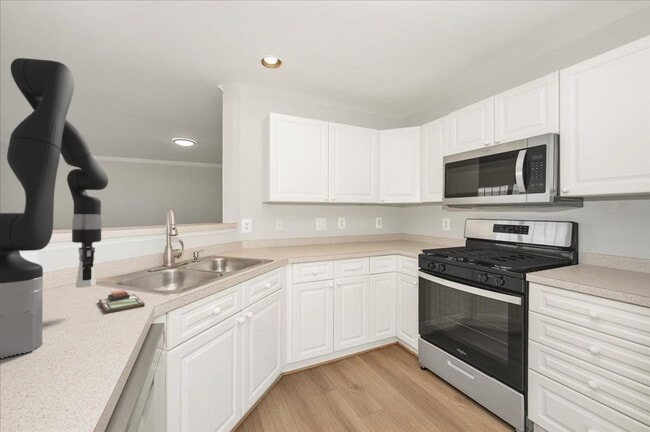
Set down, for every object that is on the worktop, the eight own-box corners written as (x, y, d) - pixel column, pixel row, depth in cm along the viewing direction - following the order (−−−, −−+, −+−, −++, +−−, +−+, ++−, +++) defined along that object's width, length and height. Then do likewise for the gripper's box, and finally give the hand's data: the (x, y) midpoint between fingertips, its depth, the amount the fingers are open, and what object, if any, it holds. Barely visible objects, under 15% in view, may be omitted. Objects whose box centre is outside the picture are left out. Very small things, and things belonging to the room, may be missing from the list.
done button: (126, 295, 106) (126, 291, 106) (113, 298, 103) (113, 293, 103) (124, 293, 109) (124, 289, 109) (111, 295, 106) (111, 291, 106)
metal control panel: (144, 306, 101) (144, 299, 101) (106, 313, 93) (106, 306, 93) (133, 296, 112) (133, 290, 112) (99, 302, 105) (99, 295, 105)
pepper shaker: (71, 286, 92) (72, 253, 92) (90, 283, 97) (91, 251, 97) (81, 288, 90) (81, 254, 90) (100, 284, 95) (100, 252, 95)
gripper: (104, 228, 91) (103, 280, 91) (98, 227, 101) (97, 275, 101) (73, 228, 86) (72, 284, 86) (70, 227, 96) (69, 277, 96)
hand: (86, 278), depth 93 cm, fingers closed on pepper shaker, 3 cm apart
